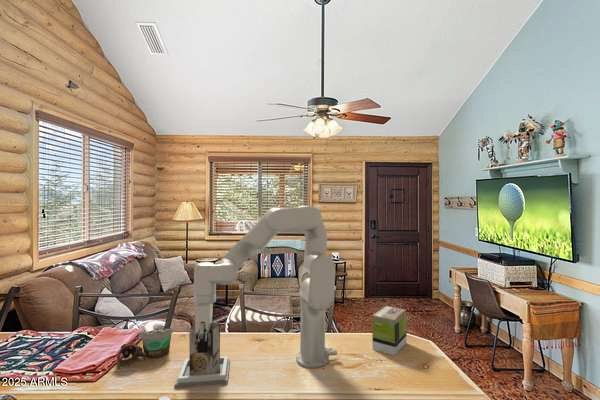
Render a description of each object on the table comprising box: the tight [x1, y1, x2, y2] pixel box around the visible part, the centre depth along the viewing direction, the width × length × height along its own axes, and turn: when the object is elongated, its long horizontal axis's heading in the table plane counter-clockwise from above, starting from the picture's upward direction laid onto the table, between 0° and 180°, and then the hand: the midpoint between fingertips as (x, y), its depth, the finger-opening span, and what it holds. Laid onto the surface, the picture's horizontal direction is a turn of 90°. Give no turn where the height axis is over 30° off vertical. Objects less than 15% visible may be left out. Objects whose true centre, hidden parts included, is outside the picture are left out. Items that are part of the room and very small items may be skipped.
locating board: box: [173, 355, 231, 389], centre depth 114 cm, size 17×15×2 cm
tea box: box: [371, 305, 408, 356], centre depth 137 cm, size 15×10×15 cm, turn 144°
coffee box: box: [188, 322, 221, 375], centre depth 114 cm, size 9×6×16 cm
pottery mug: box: [116, 343, 146, 370], centre depth 121 cm, size 12×10×8 cm
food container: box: [139, 326, 174, 360], centre depth 127 cm, size 12×6×10 cm, turn 117°
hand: (204, 346), depth 114 cm, fingers open, 9 cm apart
